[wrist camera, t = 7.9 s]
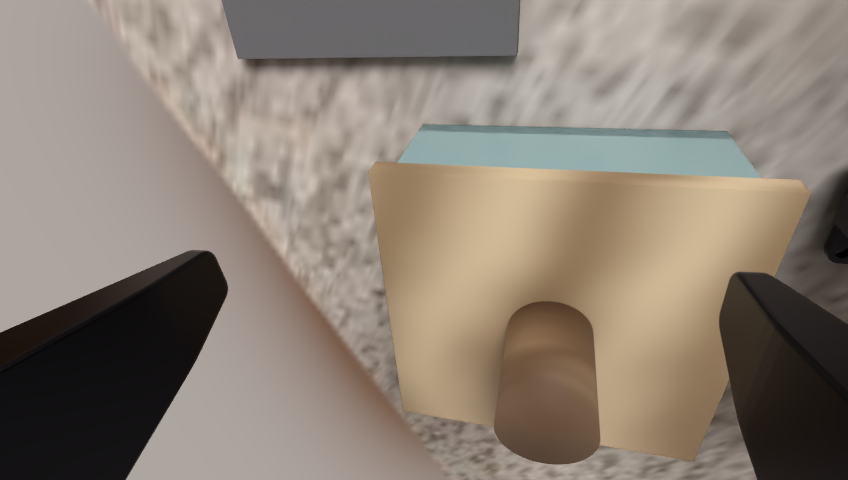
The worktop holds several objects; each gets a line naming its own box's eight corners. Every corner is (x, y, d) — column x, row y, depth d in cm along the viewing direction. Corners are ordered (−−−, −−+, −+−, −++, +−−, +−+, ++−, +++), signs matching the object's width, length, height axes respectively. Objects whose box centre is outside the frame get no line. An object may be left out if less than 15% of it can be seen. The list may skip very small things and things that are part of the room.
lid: (799, 179, 14) (902, 296, 10) (689, 444, 21) (720, 576, 17) (375, 161, 17) (312, 243, 13) (407, 397, 24) (374, 499, 20)
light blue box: (727, 131, 18) (772, 193, 14) (660, 350, 25) (679, 435, 21) (423, 124, 21) (389, 174, 17) (437, 322, 28) (415, 392, 24)
